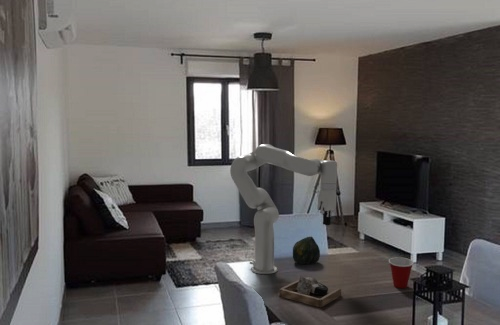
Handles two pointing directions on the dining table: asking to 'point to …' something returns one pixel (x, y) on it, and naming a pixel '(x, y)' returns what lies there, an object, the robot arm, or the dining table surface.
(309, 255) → the squash
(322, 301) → the walnut bay
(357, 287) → the dining table surface
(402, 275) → the plastic cup
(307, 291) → the caster wheel
